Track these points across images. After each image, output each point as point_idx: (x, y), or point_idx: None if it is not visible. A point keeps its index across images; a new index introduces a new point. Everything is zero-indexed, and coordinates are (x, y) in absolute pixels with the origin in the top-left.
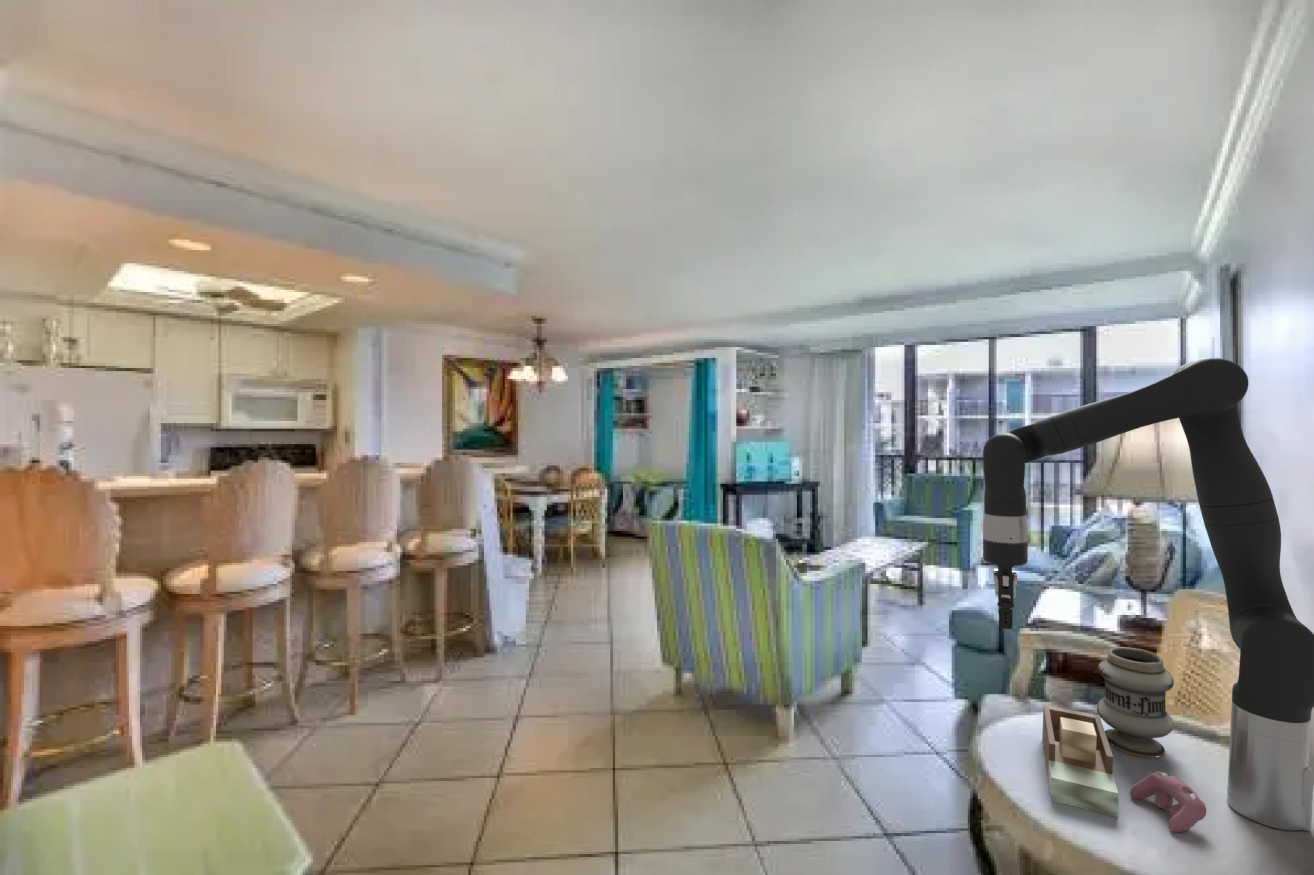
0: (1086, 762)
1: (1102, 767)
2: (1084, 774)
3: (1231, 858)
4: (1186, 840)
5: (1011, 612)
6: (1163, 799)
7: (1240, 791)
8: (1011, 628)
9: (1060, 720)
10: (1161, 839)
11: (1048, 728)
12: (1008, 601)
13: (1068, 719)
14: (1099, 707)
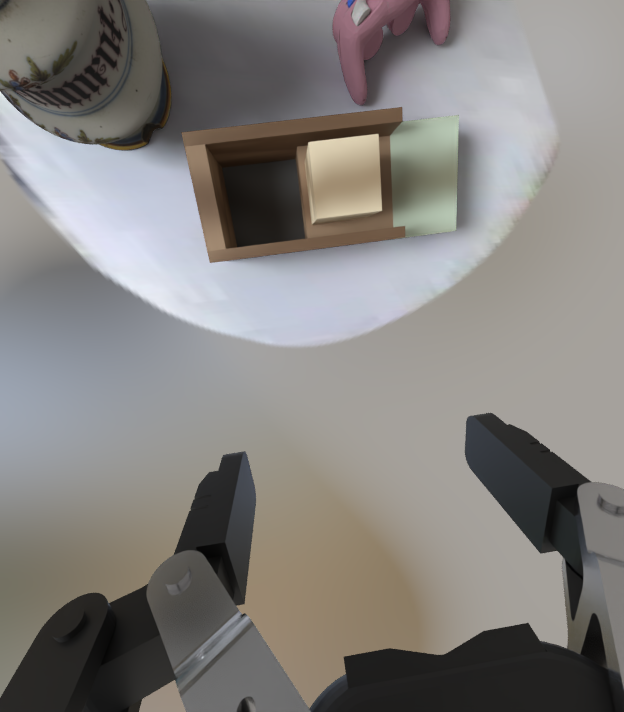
0: None
1: None
2: (416, 175)
3: None
4: (454, 20)
5: (560, 473)
6: (376, 37)
7: None
8: (488, 414)
9: (325, 218)
10: (469, 64)
11: (334, 243)
12: (233, 528)
13: (321, 199)
14: (105, 133)
